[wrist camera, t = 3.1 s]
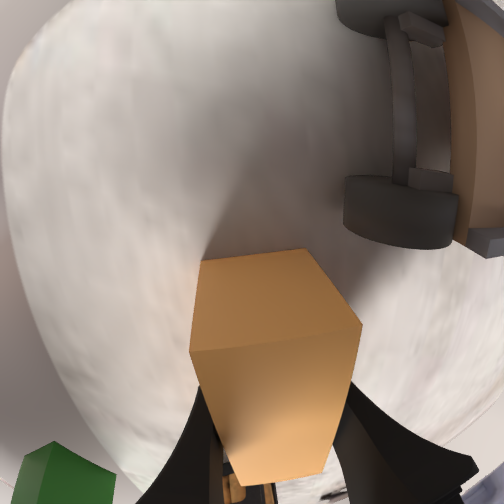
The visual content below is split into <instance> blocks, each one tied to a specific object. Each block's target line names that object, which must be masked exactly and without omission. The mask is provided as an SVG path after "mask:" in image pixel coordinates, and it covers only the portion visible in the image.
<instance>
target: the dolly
mask: <svg viewBox="0 0 504 504" xmlns="http://www.w3.org/2000/svg"><path fill="white" fill-rule="evenodd" d="M335 1H336V7H337V14H338V18H339V20H340V21H341V23H343V24H344V25H345V26H346V27H348V28H350V29H352V30H354V31H356V32H359V33H362V34H365V35H368V36H372V37H377V38H383V39H387V46H388V53H389V61H390V71H391V82H392V98H393V172H392V177H384V176H369V175H355V176H348V177H346V178H345V199H344V215H343V224H344V226H345V227H346V228H347V229H348V230H350V231H351V232H353V233H355V234H357V235H359V236H361V237H364V238H367V239H369V240H372V241H376V242H379V243H383V244H387V245H391V246H396V247H402V248H409V249H420V250H433V249H441V248H445V247H447V246H449V245H450V244H451V243H452V239H453V240H454V241H456V242H458V243H460V244H462V245H463V246H465V247H467V248H469V249H470V250H472V251H474V252H475V253H477V254H479V255H480V256H482V257H484V258H485V259H488V258H493V257H499V256H504V11H503V10H502V9H501V8H500V7H499V6H498V5H497V4H495V3H494V2H493V1H492V0H335ZM409 41H417V42H419V43H422V44H424V45H426V46H429V47H431V48H434V47H438V46H442V45H443V49H444V55H445V61H446V68H447V75H448V84H449V95H450V110H451V161H450V173H446V172H442V171H437V170H430V169H423V168H416V148H417V120H416V97H415V83H414V73H413V64H412V57H411V50H410V43H409Z"/></svg>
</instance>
